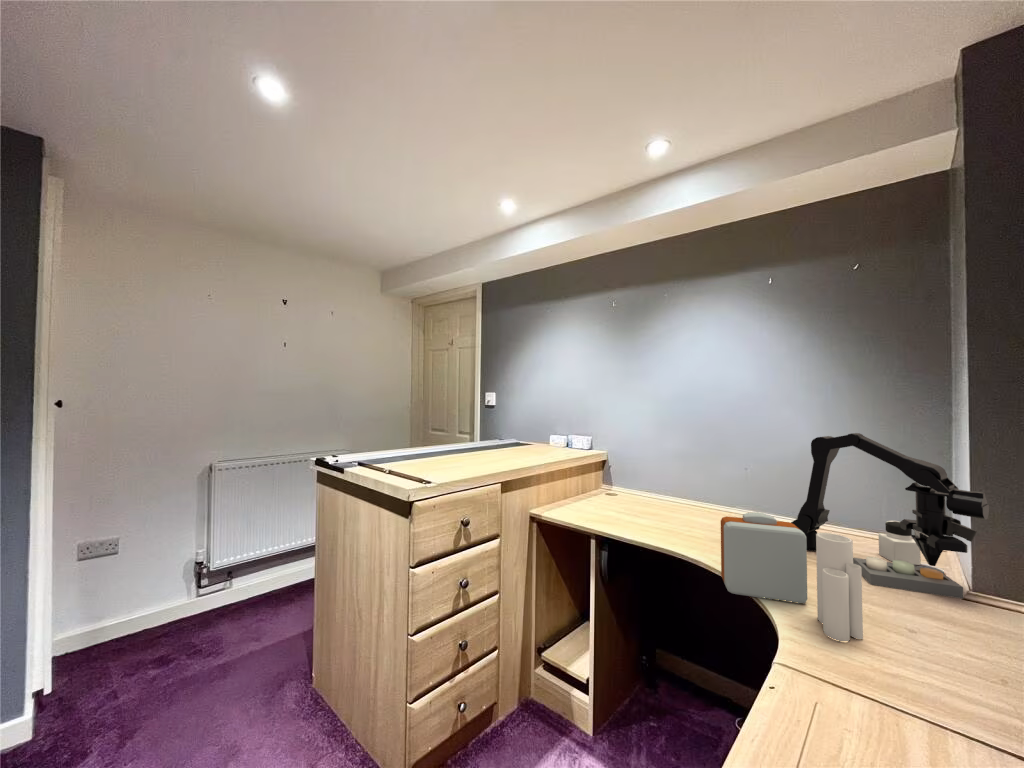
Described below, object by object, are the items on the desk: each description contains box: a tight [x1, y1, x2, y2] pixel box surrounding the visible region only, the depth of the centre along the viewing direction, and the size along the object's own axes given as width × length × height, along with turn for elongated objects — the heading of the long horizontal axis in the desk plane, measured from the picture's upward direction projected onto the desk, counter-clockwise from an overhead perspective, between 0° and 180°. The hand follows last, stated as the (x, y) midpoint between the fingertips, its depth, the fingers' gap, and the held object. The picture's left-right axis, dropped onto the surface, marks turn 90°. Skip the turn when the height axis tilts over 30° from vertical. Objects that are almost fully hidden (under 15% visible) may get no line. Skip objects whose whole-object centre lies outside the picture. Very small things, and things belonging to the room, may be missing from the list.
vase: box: [815, 532, 864, 642], centre depth 89 cm, size 11×7×20 cm, turn 153°
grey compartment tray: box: [853, 557, 964, 599], centre depth 111 cm, size 19×12×3 cm, turn 67°
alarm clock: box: [720, 511, 808, 604], centre depth 106 cm, size 18×9×21 cm, turn 71°
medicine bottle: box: [877, 520, 922, 566], centre depth 126 cm, size 7×7×12 cm
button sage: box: [892, 560, 915, 576], centre depth 111 cm, size 4×4×3 cm
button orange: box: [920, 567, 944, 580], centre depth 109 cm, size 4×4×3 cm
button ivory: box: [865, 556, 888, 572], centre depth 114 cm, size 4×4×3 cm
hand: (931, 565), depth 109 cm, fingers closed
